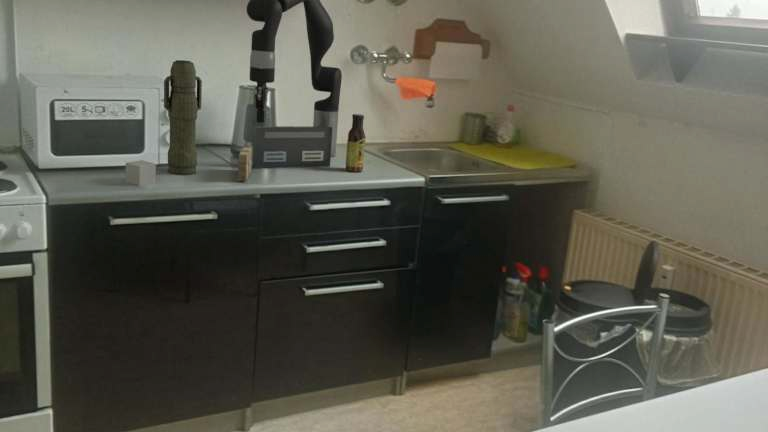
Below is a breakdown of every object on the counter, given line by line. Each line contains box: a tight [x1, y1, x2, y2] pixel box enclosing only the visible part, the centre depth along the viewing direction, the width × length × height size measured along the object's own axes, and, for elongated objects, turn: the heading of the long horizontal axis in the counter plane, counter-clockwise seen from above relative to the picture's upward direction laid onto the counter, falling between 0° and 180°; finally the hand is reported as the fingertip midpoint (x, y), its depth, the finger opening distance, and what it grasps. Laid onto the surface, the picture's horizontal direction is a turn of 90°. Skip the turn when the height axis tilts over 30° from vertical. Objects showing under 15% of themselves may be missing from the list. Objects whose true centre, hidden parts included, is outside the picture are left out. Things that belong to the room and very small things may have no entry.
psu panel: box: [252, 125, 332, 169], centre depth 255 cm, size 3×28×14 cm, turn 118°
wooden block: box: [237, 145, 253, 182], centre depth 236 cm, size 17×3×8 cm, turn 4°
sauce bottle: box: [345, 113, 366, 173], centre depth 257 cm, size 7×6×20 cm
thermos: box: [163, 59, 203, 176], centre depth 231 cm, size 9×12×35 cm
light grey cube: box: [125, 159, 157, 187], centre depth 218 cm, size 6×6×6 cm
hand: (260, 122), depth 229 cm, fingers closed
